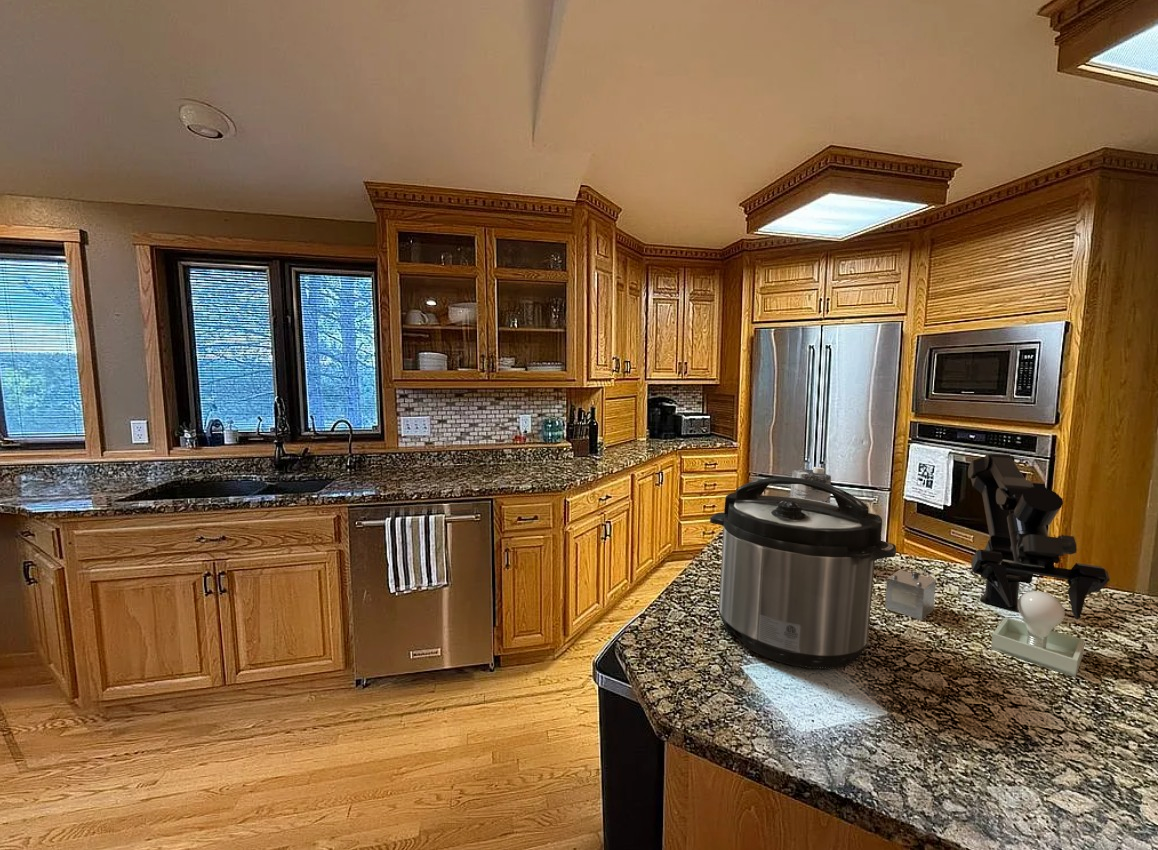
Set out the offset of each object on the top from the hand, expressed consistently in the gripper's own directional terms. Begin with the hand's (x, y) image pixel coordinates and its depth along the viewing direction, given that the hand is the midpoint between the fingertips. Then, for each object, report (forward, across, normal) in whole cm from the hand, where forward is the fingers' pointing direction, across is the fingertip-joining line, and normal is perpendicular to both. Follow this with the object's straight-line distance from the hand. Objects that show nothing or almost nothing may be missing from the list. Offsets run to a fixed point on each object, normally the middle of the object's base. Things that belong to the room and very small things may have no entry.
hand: (1043, 612), depth 88 cm
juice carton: (-17, -42, +29) cm, 53 cm away
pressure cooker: (+17, -41, -5) cm, 45 cm away
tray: (+5, 0, +7) cm, 9 cm away
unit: (-1, -19, +13) cm, 23 cm away
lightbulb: (+4, 0, +7) cm, 8 cm away
